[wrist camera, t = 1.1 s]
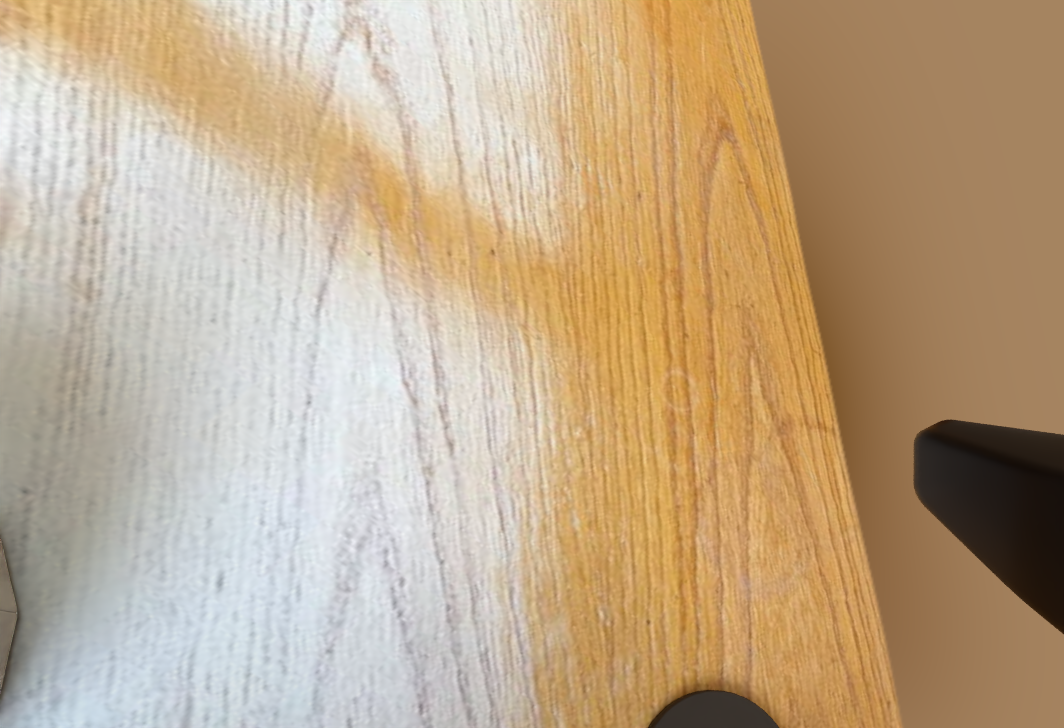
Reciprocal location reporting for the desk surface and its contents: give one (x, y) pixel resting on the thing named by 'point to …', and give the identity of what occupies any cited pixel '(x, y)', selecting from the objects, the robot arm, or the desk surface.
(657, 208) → the desk surface
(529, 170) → the desk surface
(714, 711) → the coaster
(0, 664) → the wide bowl
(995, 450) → the robot arm
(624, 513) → the desk surface
